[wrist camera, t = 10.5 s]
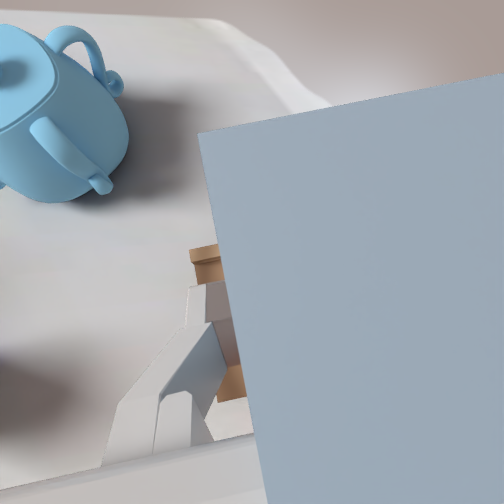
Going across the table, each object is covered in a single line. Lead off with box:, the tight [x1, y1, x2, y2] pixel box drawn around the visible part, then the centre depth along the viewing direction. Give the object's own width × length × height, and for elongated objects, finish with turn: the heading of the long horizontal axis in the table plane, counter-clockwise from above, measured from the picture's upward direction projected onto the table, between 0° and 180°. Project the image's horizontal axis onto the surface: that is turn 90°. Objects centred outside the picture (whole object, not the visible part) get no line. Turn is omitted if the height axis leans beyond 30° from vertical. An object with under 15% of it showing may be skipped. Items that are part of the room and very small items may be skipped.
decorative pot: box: [0, 24, 129, 203], centre depth 30 cm, size 16×16×14 cm
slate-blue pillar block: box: [197, 73, 504, 504], centre depth 9 cm, size 4×4×12 cm
